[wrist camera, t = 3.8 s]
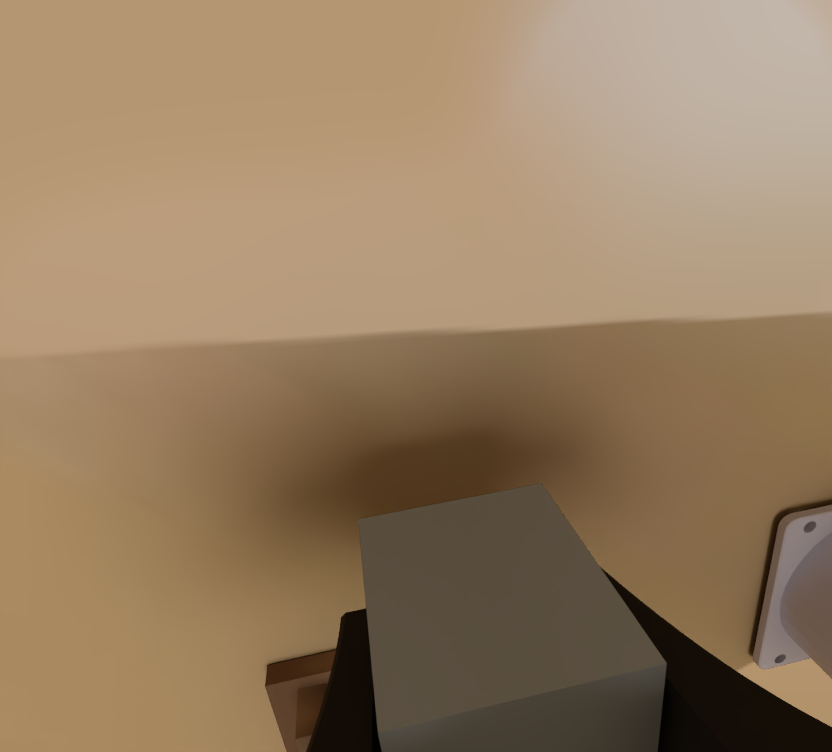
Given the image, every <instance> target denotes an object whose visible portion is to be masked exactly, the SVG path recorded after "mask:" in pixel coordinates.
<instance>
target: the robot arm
mask: <svg viewBox="0 0 832 752" xmlns="http://www.w3.org/2000/svg"><path fill="white" fill-rule="evenodd" d="M600 568H601V567H600ZM601 569H602V568H601ZM602 571H603V572H604V574H605V575H606V576H607V578H608V579H609V581H610V582H611V584H612V585H613V587H614V588H615V589H616V591H617V592H618V594H619V595H620V597H621V598H622V600H623V601H624V602H625V604H626V605H627V607H628V608H629V610H630V611H631V612H632V614H633V615H634V617H635V618H636V620H637V621H638V623H639V624H640V625H641V627H642V628H643V630H644V631H645V633H646V634H647V636H648V637H649V638H650V640H651V641H652V643H653V644H654V646H655V647H656V648H657V650H658V651H659V653H660V654H661V656H662V657H663V659H664V660H665V661H666V663H667V666H666V675H665V685H664V695H663V704H662V714H661V724H660V733H659V743H658V752H832V727H830V726H828V725H827V724H825V723H823V722H821V721H819V720H817V719H815V718H813V717H812V716H810V715H808V714H806V713H804V712H803V711H801V710H799V709H797V708H795V707H794V706H792V705H790V704H788V703H787V702H785V701H783V700H782V699H780V698H778V697H776V696H775V695H773V694H772V693H770V692H768V691H767V690H765V689H764V688H762V687H760V686H759V685H757V684H756V683H754V682H752V681H751V680H749V679H747V678H746V677H744V676H743V675H741V674H740V673H738V672H737V671H735V670H734V669H732V668H731V667H729V666H728V665H726V664H725V663H723V662H722V661H720V660H719V659H718V658H716V657H715V656H713V655H712V654H710V653H709V652H708V651H706V650H705V649H703V648H702V647H700V646H699V645H698V644H696V643H695V642H694V641H692V640H691V639H689V638H688V637H687V636H685V635H684V634H683V633H681V632H680V631H679V630H677V629H676V628H675V627H673V626H672V625H671V624H670V623H668V622H667V621H666V620H664V619H663V618H662V617H660V616H659V615H658V614H657V613H655V612H654V611H653V610H652V609H650V608H649V607H648V606H646V605H645V604H644V603H643V602H642V601H640V600H639V599H638V598H637V597H635V596H634V595H633V594H632V593H631V592H629V591H628V590H627V589H626V588H624V587H623V586H622V585H621V584H620V583H618V582H617V581H616V580H615V579H614V578H612V577H611V576H610V575H609V574H608V573H607V572H605V571H604V570H603V569H602ZM809 658H812V659H813V660H814V661H815V662H816V663H817V664H818V665H819V666H820V667H821V668H822V669H823V670H824V671H825V672H826V673H827V674H828V675H829V676H830V677H831V678H832V505H828V506H823V507H818V508H814V509H809V510H805V511H800V512H795V513H791V514H788V515H786V516H785V517H784V518H782V520H781V521H780V523H779V525H778V530H777V535H776V541H775V546H774V551H773V556H772V561H771V566H770V571H769V576H768V582H767V587H766V592H765V597H764V602H763V607H762V612H761V617H760V623H759V628H758V633H757V638H756V643H755V648H754V653H753V661H754V662H755V663H756V664H757V665H758V666H759V667H760V668H761V669H770V668H774V667H777V666H782V665H785V664H790V663H794V662H797V661H801V660H805V659H809ZM306 752H382V750H381V745H380V741H379V736H378V729H377V718H376V708H375V697H374V686H373V675H372V664H371V653H370V643H369V632H368V621H367V610H366V609H361V610H357V611H352V612H348V613H345V614H344V615H343V616H342V617H341V623H340V631H339V637H338V643H337V648H336V652H335V657H334V661H333V665H332V669H331V673H330V677H329V681H328V684H327V688H326V691H325V695H324V698H323V702H322V705H321V709H320V712H319V715H318V718H317V721H316V724H315V727H314V730H313V733H312V736H311V739H310V742H309V745H308V748H307V750H306Z"/></svg>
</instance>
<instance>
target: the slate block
mask: <svg viewBox="0 0 832 752" xmlns="http://www.w3.org/2000/svg"><path fill="white" fill-rule="evenodd" d="M358 523H359V534H360V545H361V556H362V567H363V578H364V588H365V599H366V610H367V621H368V632H369V643H370V653H371V664H372V675H373V686H374V697H375V708H376V718H377V729H378V736H379V741H380V745H381V750H382V752H658V743H659V733H660V724H661V714H662V704H663V695H664V685H665V675H666V666H667V663H666V661H665V660H664V659H663V657H662V656H661V654H660V653H659V651H658V650H657V648H656V647H655V646H654V644H653V643H652V641H651V640H650V638H649V637H648V636H647V634H646V633H645V631H644V630H643V628H642V627H641V625H640V624H639V623H638V621H637V620H636V618H635V617H634V615H633V614H632V612H631V611H630V610H629V608H628V607H627V605H626V604H625V602H624V601H623V600H622V598H621V597H620V595H619V594H618V592H617V591H616V589H615V588H614V587H613V585H612V584H611V582H610V581H609V579H608V578H607V576H606V575H605V574H604V572H603V571H602V569H601V568H600V566H599V565H598V564H597V562H596V561H595V559H594V558H593V556H592V555H591V553H590V552H589V551H588V549H587V548H586V546H585V545H584V543H583V542H582V540H581V539H580V538H579V536H578V535H577V533H576V532H575V530H574V529H573V528H572V526H571V525H570V523H569V522H568V520H567V519H566V517H565V516H564V515H563V513H562V512H561V510H560V509H559V507H558V506H557V504H556V503H555V502H554V500H553V499H552V497H551V496H550V494H549V493H548V491H547V490H546V489H545V487H544V486H543V484H542V483H541V484H536V485H530V486H525V487H520V488H515V489H510V490H505V491H500V492H495V493H490V494H485V495H479V496H474V497H469V498H464V499H459V500H454V501H449V502H444V503H439V504H434V505H429V506H423V507H418V508H413V509H408V510H403V511H398V512H393V513H388V514H383V515H378V516H373V517H367V518H362V519H358Z"/></svg>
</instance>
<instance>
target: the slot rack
mask: <svg viewBox="0 0 832 752" xmlns="http://www.w3.org/2000/svg"><path fill="white" fill-rule="evenodd" d="M335 652H336V650H334V651H330V652H325V653H321V654H316V655H312V656H307V657H303V658H298V659H294V660H290V661H285V662H281V663H276V664H272V665H268V666H267V675H266V683H265V687H266V690H267V693H268V696H269V699H270V702H271V705H272V708H273V711H274V715H275V718H276V721H277V724H278V727H279V730H280V733H281V736H282V739H283V742H284V745H285V748H286V751H287V752H306V750H307V748H308V745H309V742H310V739H311V736H312V733H313V730H314V727H315V724H316V721H317V718H318V715H319V712H320V709H321V705H322V702H323V698H324V695H325V691H326V688H327V684H328V681H329V677H330V673H331V669H332V665H333V661H334V657H335Z"/></svg>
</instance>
